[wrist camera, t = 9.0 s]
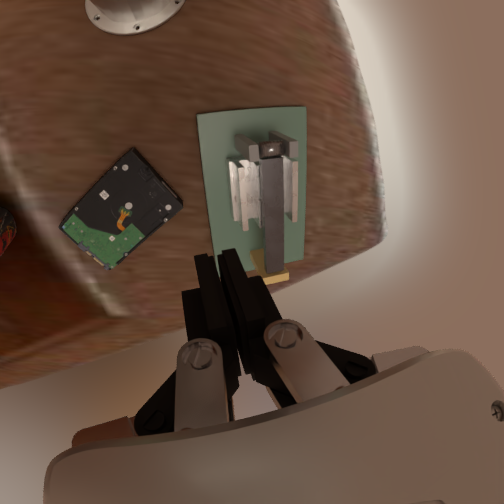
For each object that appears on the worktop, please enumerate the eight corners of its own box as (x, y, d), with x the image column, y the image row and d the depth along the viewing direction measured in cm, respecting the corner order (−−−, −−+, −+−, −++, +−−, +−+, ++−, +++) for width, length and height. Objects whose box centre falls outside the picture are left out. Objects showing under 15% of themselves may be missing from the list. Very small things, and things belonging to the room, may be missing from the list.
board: (196, 114, 32) (203, 121, 25) (302, 105, 35) (333, 112, 28) (216, 272, 45) (227, 307, 39) (300, 255, 48) (322, 285, 41)
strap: (256, 140, 30) (261, 143, 28) (278, 138, 30) (284, 141, 29) (262, 268, 39) (267, 275, 37) (281, 264, 39) (285, 271, 38)
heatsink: (225, 158, 35) (234, 168, 31) (285, 151, 36) (301, 160, 32) (231, 214, 39) (239, 231, 35) (286, 205, 41) (300, 221, 37)
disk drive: (132, 144, 32) (62, 219, 34) (129, 148, 30) (56, 228, 32) (183, 199, 38) (112, 264, 40) (185, 207, 36) (110, 275, 38)
